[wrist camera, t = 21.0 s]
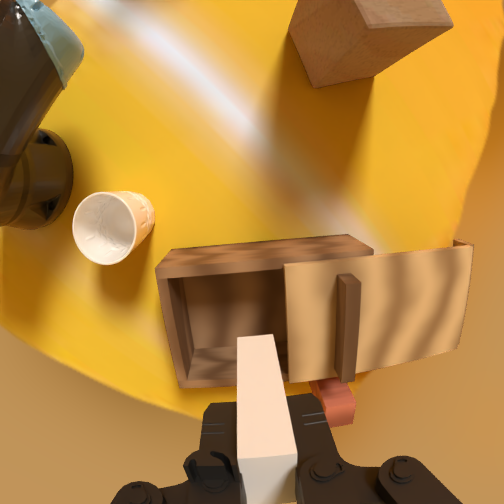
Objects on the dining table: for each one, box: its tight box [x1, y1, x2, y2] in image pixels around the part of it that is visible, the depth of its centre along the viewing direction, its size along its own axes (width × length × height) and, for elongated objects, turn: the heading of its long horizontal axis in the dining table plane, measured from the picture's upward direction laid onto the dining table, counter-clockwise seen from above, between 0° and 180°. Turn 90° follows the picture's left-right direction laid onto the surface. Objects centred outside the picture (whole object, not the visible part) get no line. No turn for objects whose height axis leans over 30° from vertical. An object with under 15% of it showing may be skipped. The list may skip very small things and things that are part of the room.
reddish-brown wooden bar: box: [309, 377, 356, 428], centre depth 41 cm, size 4×4×12 cm
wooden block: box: [288, 0, 453, 88], centre depth 26 cm, size 10×10×20 cm
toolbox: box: [155, 234, 374, 388], centre depth 40 cm, size 24×16×9 cm, turn 95°
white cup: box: [72, 191, 155, 265], centre depth 36 cm, size 8×8×10 cm
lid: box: [284, 239, 474, 383], centre depth 35 cm, size 26×15×8 cm, turn 95°
